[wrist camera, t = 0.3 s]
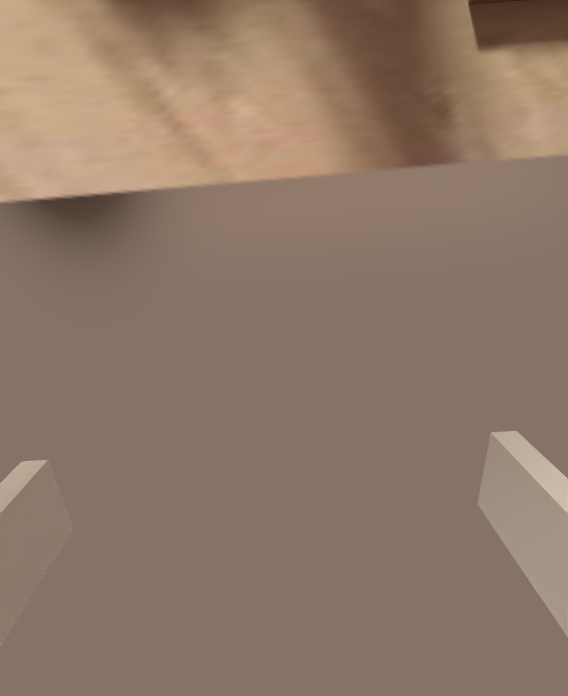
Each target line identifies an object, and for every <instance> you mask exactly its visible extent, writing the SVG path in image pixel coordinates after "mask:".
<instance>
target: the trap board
mask: <svg viewBox="0 0 568 696" xmlns="http://www.w3.org/2000/svg"><path fill="white" fill-rule="evenodd" d="M504 1H518V0H469V4H474V3H489V2H504Z"/></svg>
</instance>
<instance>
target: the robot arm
mask: <svg viewBox="0 0 568 696" xmlns="http://www.w3.org/2000/svg"><path fill="white" fill-rule="evenodd" d="M477 504H478V505H479V507H480V508H481V510H482V511H483V513H484V514H485V516H486V517H487V519H488V520H489V522H490V523H491V525H492V526H493V528H494V529H495V530H496V532H497V533H498V535H499V536H500V538H501V539H502V541H503V542H504V544H505V545H506V547H507V548H508V550H509V551H510V553H511V554H512V556H513V557H514V558H515V560H516V561H517V563H518V564H519V566H520V567H521V569H522V570H523V572H524V573H525V575H526V576H527V578H528V579H529V581H530V582H531V583H532V585H533V587H534V588H535V589H536V591H537V592H538V594H539V595H540V597H541V598H542V600H543V601H544V603H545V604H546V605H547V607H548V609H549V610H550V612H551V613H552V615H553V616H554V617H555V619H556V620H557V622H558V623H559V625H560V626H561V628H562V629H563V631H564V632H565V633H566V635H567V637H568V479H567V478H566V477H565V476H564V475H563V474H562V473H561V472H560V471H559V470H558V469H557V468H556V467H555V466H553V465H552V464H551V463H550V462H549V461H548V460H547V459H546V458H545V457H544V456H543V455H542V454H541V453H540V452H538V451H537V450H536V449H535V448H534V447H533V446H532V445H531V444H530V443H529V442H528V441H527V440H526V439H524V438H523V437H522V436H521V435H520V434H519V433H518V432H517V431H504V432H491V433H490V438H489V443H488V449H487V454H486V459H485V465H484V471H483V476H482V481H481V486H480V492H479V497H478V503H477ZM72 530H73V528H72V524H71V522H70V519H69V516H68V513H67V511H66V508H65V505H64V503H63V500H62V498H61V494H60V492H59V489H58V486H57V483H56V481H55V478H54V475H53V473H52V470H51V467H50V465H49V462H48V460H40V461H23V462H21V463H20V464H19V465H18V466H17V467H16V468H15V469H14V470H13V471H12V472H11V473H10V474H9V475H8V476H7V477H6V478H5V479H4V480H3V481H2V483H1V484H0V647H1V645H2V643H3V641H4V640H5V639H6V637H7V635H8V634H9V632H10V630H11V629H12V627H13V625H14V624H15V622H16V621H17V619H18V618H19V616H20V614H21V613H22V611H23V609H24V608H25V606H26V605H27V603H28V601H29V600H30V598H31V596H32V595H33V593H34V592H35V590H36V588H37V587H38V585H39V584H40V582H41V580H42V578H43V577H44V576H45V574H46V572H47V571H48V569H49V568H50V566H51V564H52V563H53V561H54V559H55V558H56V556H57V554H58V553H59V551H60V550H61V548H62V546H63V545H64V543H65V542H66V540H67V538H68V537H69V535H70V534H71V532H72Z"/></svg>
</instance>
